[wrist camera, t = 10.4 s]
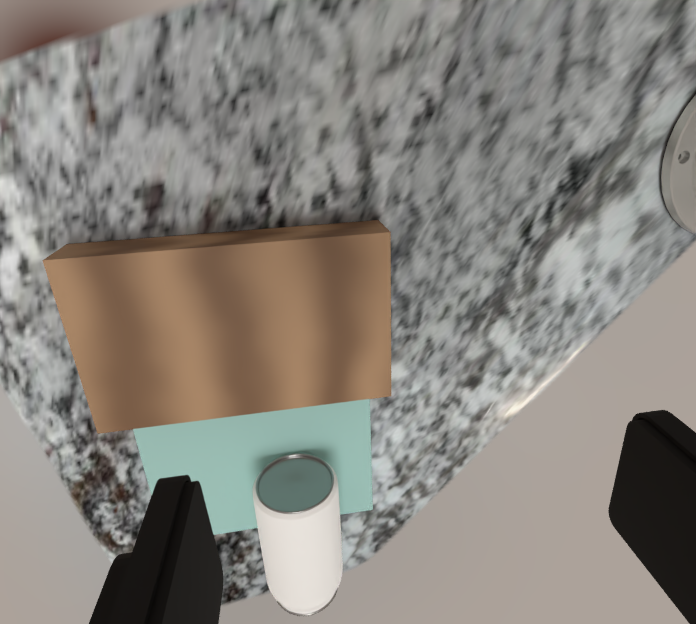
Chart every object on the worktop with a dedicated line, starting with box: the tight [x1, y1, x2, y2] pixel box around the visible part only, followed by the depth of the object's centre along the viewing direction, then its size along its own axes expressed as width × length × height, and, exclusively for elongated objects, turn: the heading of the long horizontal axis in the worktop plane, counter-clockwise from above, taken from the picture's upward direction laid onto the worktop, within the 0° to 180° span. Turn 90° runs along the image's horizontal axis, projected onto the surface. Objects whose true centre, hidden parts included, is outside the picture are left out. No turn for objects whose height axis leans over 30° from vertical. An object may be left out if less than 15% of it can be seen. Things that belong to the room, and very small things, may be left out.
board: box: [43, 220, 391, 434], centre depth 31 cm, size 20×12×4 cm, turn 92°
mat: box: [133, 399, 373, 535], centre depth 38 cm, size 18×14×1 cm
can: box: [253, 453, 343, 616], centre depth 38 cm, size 6×6×12 cm
